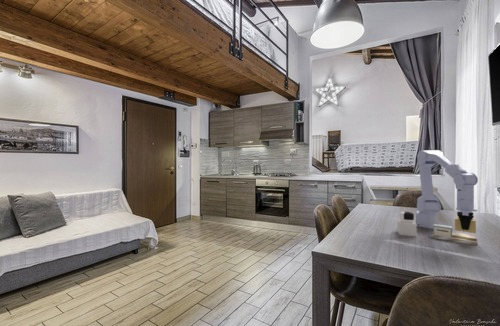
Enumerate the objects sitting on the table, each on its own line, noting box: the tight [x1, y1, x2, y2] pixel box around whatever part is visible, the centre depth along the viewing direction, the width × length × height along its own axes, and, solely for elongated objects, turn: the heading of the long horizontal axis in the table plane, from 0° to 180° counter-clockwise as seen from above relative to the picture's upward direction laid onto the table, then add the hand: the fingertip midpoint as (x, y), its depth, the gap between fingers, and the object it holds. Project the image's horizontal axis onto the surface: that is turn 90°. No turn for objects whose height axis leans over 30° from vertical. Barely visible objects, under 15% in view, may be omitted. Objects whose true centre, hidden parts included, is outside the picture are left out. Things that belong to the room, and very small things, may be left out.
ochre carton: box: [454, 216, 477, 234], centre depth 107 cm, size 7×4×6 cm, turn 47°
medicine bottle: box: [396, 211, 417, 237], centre depth 118 cm, size 7×7×12 cm
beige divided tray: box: [431, 231, 479, 246], centre depth 114 cm, size 16×18×2 cm
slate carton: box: [432, 224, 453, 238], centre depth 113 cm, size 7×4×6 cm, turn 48°
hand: (465, 228), depth 107 cm, fingers closed on ochre carton, 4 cm apart
